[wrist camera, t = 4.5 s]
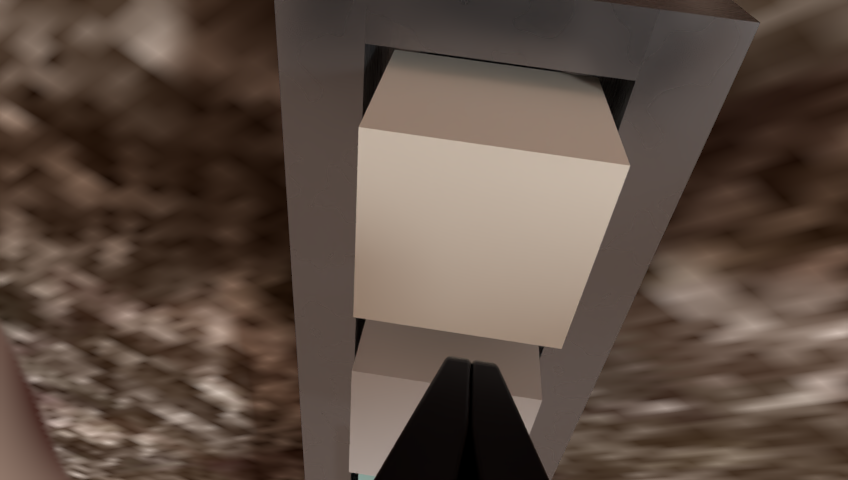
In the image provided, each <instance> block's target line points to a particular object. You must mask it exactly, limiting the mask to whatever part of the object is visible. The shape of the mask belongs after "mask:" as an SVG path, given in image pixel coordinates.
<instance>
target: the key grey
mask: <svg viewBox="0 0 848 480" xmlns="http://www.w3.org/2000/svg"><path fill="white" fill-rule="evenodd" d="M448 356H453V357H460V358H466V359H469V360H470V361H471V363H472V362H473V361H474V360H479V361H486V362H492V363H495V364H496V365H497V366H498V367H499V369H500V371H501V373H502V375H503V378H504V380H505V382H506V384H507V387H508V389H509V391H510V393H511V395H512V398H513V400H514V402H515V404H516V407H517V409H518V411H519V413H520V416H521V418H522V420H523V422H524V424H525V427H526V429H527V431H528V433H529V434H530V432H531V429H532V426H533V424H534V421H535V418H536V416H537V413H538V410H539V408H540V405H541V402H542V389H541V374H540V359H539V345H532V344H526V343H519V342H513V341H506V340H499V339H493V338H486V337H480V336H473V335H467V334H460V333H454V332H447V331H440V330H434V329H427V328H421V327H414V326H408V325H401V324H395V323H388V322H382V321H375V320H368V319H366V320H365V324H364V328H363V331H362V335H361V339H360V342H359V346H358V350H357V353H356V357H355V361H354V364H353V368H352V378H351V414H350V449H349V472H351V473H358V474H364V475H370V476H376V475H377V473H378V472H379V470H380V468H381V466H382V465H383V463H384V461H385V460H386V458H387V456H388V455H389V453H390V451H391V449H392V448H393V446H394V444H395V443H396V441H397V439H398V438H399V436H400V434H401V433H402V431H403V429H404V427H405V426H406V424H407V422H408V421H409V419H410V417H411V416H412V414H413V412H414V410H415V409H416V407H417V405H418V404H419V402H420V400H421V399H422V397H423V395H424V393H425V392H426V390H427V388H428V387H429V385H430V383H431V382H432V380H433V378H434V377H435V375H436V373H437V371H438V370H439V368H440V366H441V365H442V363H443V361H444V360H445V358H446V357H448Z"/></svg>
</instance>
